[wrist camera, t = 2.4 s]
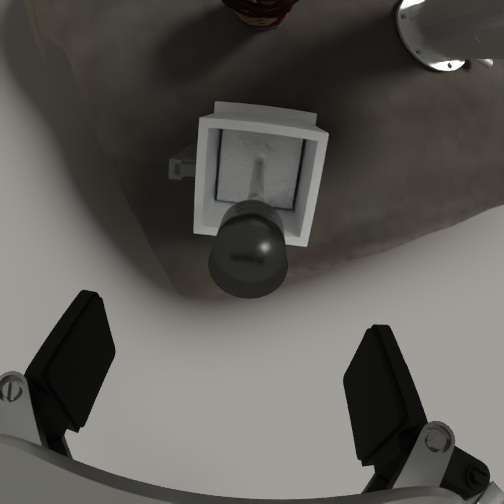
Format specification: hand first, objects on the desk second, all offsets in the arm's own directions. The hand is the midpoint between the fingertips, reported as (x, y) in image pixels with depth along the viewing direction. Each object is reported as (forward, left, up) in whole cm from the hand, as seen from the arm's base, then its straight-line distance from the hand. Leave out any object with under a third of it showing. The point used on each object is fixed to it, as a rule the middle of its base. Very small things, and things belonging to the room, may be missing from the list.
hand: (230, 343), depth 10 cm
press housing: (0, 0, -33) cm, 32 cm away
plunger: (0, 0, -24) cm, 24 cm away
